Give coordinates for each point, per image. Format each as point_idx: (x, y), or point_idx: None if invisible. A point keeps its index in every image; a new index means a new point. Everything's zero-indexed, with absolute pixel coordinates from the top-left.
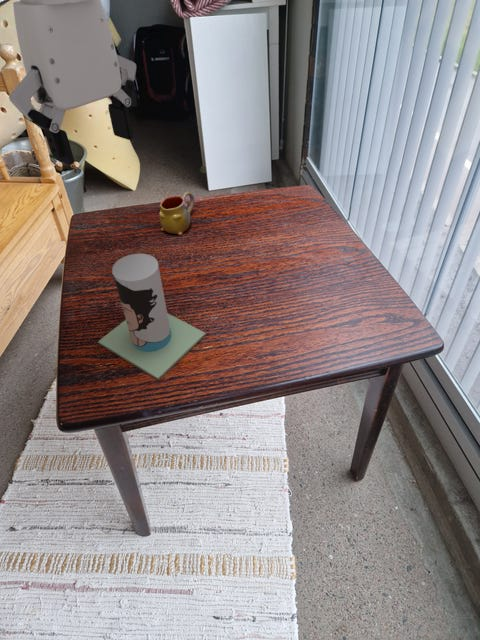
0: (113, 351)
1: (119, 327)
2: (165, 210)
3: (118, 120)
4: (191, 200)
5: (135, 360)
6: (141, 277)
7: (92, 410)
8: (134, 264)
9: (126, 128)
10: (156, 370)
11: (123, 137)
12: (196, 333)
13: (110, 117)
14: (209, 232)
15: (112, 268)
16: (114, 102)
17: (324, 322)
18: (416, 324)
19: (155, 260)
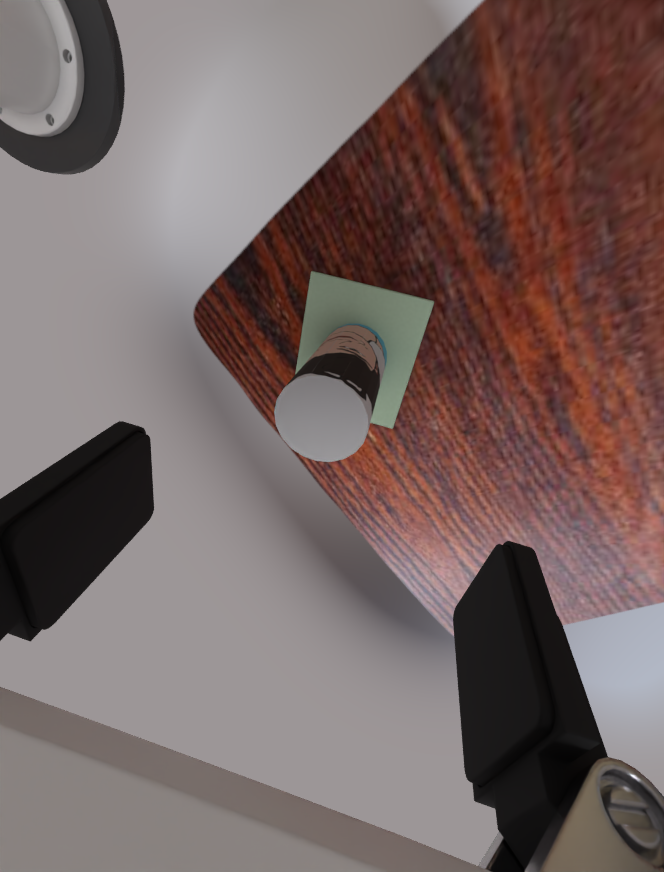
0: (305, 310)
1: (354, 288)
2: None
3: (484, 670)
4: None
5: (303, 356)
6: (297, 445)
7: (216, 341)
8: (326, 416)
9: (458, 664)
10: None
11: (466, 593)
12: (386, 417)
13: (521, 633)
14: None
15: (295, 380)
16: (527, 805)
17: (467, 555)
18: None
19: (355, 448)
